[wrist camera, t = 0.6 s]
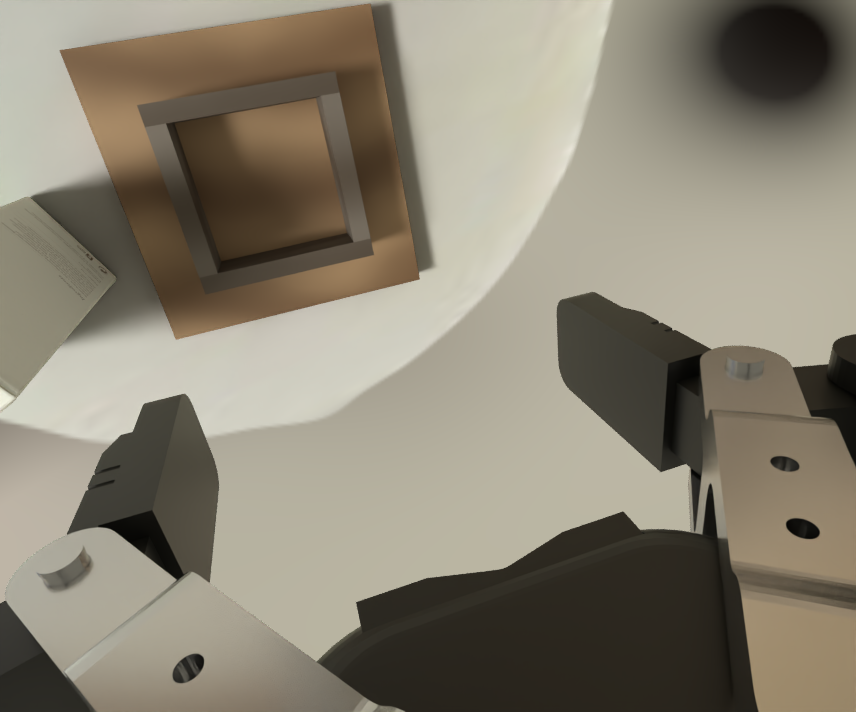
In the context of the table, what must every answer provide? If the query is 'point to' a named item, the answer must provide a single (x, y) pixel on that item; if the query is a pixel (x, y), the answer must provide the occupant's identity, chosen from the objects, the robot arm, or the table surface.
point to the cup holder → (252, 163)
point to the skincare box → (40, 291)
